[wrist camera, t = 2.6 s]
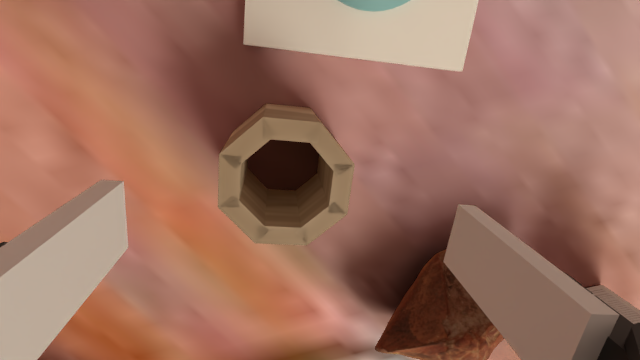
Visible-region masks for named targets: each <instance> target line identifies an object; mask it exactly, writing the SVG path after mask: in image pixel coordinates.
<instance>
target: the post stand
mask: <svg viewBox="0 0 640 360" xmlns="http://www.w3.org/2000/svg"><path fill="white" fill-rule="evenodd" d="M478 1H479V0H245V18H244V41H243V44H244V45H249V46H257V47H265V48H273V49H281V50H289V51H297V52H305V53H313V54H321V55H329V56H337V57H345V58H353V59H361V60H369V61H377V62H385V63H393V64H401V65H409V66H417V67H425V68H433V69H441V70H449V71H462V70H463V66H464V62H465V57H466V53H467V49H468V44H469V40H470V36H471V31H472V27H473V22H474V18H475V14H476V9H477V5H478Z"/></svg>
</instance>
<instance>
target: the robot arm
mask: <svg viewBox="0 0 640 360" xmlns="http://www.w3.org/2000/svg"><path fill="white" fill-rule="evenodd" d="M127 248H128V237H127V222H126V208H125V193H124V181H112V180H100V181H99V182H97V183H96V184H94V185H93V186H91V187H90V188H88V189H87V190H85V191H84V192H82V193H81V194H79V195H78V196H76V197H75V198H73V199H72V200H70V201H69V202H67V203H66V204H64V205H63V206H61V207H60V208H58V209H57V210H55V211H54V212H52V213H51V214H50V215H48V216H47V217H45V218H44V219H42V220H41V221H39V222H38V223H36V224H35V225H33V226H32V227H30V228H29V229H27V230H26V231H24V232H23V233H21V234H20V235H18V236H17V237H15V238H14V239H12V240H11V241H9V242H2V243H0V360H37V359H38V358H39V357H40V356H41V354H42V353H43V352H44V351H45V350H46V348H47V347H48V346H49V345H50V343H51V342H52V341H53V340H54V338H55V337H56V336H57V335H58V334H59V332H60V331H61V330H62V329H63V327H64V326H65V325H66V324H67V322H68V321H69V320H70V319H71V317H72V316H73V315H74V314H75V313H76V311H77V310H78V309H79V308H80V306H81V305H82V304H83V303H84V301H85V300H86V299H87V298H88V297H89V295H90V294H91V293H92V292H93V290H94V289H95V288H96V287H97V285H98V284H99V283H100V282H101V280H102V279H103V278H104V277H105V276H106V274H107V273H108V272H109V271H110V269H111V268H112V267H113V266H114V264H115V263H116V262H117V261H118V260H119V258H120V257H121V256H122V255H123V253H124V252H125V251H126V250H127ZM443 262H444V263H445V264H446V266H447V267H448V268H449V269H450V271H451V272H452V273H453V274H454V276H455V277H456V278H457V279H458V281H459V282H460V283H461V284H462V286H463V287H464V288H465V289H466V291H467V292H468V293H469V294H470V296H471V297H472V298H473V299H474V301H475V302H476V303H477V304H478V306H479V307H480V308H481V309H482V311H483V312H484V313H485V315H486V316H487V317H488V318H489V320H490V321H491V322H492V323H493V325H494V326H495V327H496V328H497V330H498V331H499V332H500V333H501V335H502V336H503V337H504V338H505V340H506V341H507V342H508V343H509V345H510V346H511V347H512V348H513V350H514V351H515V352H516V353H517V355H518V356H519V357H520V358H521V360H640V323H636V324H633V323H632V322H630V321H629V320H628V319H626V318H625V317H624V316H622V315H621V314H620V313H618V312H617V311H616V310H614V309H613V308H612V307H610V306H609V305H608V304H606V303H605V302H604V301H602V300H601V299H600V298H598V297H597V296H594V295H593V293H592V292H590V291H589V290H588V289H586V288H585V287H582V285H581V284H580V283H578V282H577V281H576V280H574V279H573V278H572V277H571V276H569V275H568V274H566V273H564V272H562V271H561V270H560V269H558V268H557V267H556V266H554V265H553V264H552V263H550V262H549V261H548V260H546V259H545V258H544V257H542V256H541V255H540V254H539V253H537V252H536V251H535V250H533V249H532V248H531V247H529V246H528V245H527V244H525V243H524V242H523V241H521V240H520V239H519V238H517V237H516V236H515V235H513V234H512V233H511V232H510V231H508V230H507V229H506V228H504V227H503V226H502V225H500V224H499V223H498V222H496V221H495V220H494V219H492V218H491V217H490V216H488V215H487V214H486V213H484V212H483V211H482V210H480V209H479V208H478V207H477V206H475V205H460V204H458V207H457V211H456V215H455V219H454V223H453V227H452V230H451V234H450V238H449V242H448V246H447V250H446V253H445V257H444V261H443Z"/></svg>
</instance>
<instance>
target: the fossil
mask: <svg viewBox="0 0 640 360" xmlns="http://www.w3.org/2000/svg"><path fill="white" fill-rule="evenodd" d="M446 250H447V249H445V250H443V251H441V252H438V253H436V254H435V255H434V256H433V257H432V258H431V259H430V260H429V261H428V262H427V263H426V265H425V266H424V267H423V268H422V270H421V271H420V273H419V275H418V277H417V278H416V280H415V281H414V283H413V284H412V286H411V287H410V288H409V290H408V291H407V292H406V294H405V295H404V297H403V299H402V301H401V302H400V304H399V306H398V307H397V309H396V310H395V312H394V313H393V315H392V317H391V319H390V321H389V322H388V324H387V327H386V329H385V331H384V332H383V334H382V336H381V338H380V340H379V341H378V343H377V345H376V346H375V350H376V351H378V352H382V353H389V354H401V355H405V356H408V357H412V358H416V359H420V360H487V359H488V358H489V357H490V355H491V353H492V351H493V350H494V348H495V347H496V346H497V345H498V344H499V343H500V342H501V341H502V340H503V339H504V337H503V336H502V335H501V333H500V332H499V331H498V330H497V328H496V327H495V326H494V325H493V323H492V322H491V321H490V320H489V318H488V317H487V316H486V315H485V313H484V312H483V311H482V309H481V308H480V307H479V306H478V304H477V303H476V302H475V301H474V299H473V298H472V297H471V296H470V294H469V293H468V292H467V291H466V289H465V288H464V287H463V286H462V284H461V283H460V282H459V281H458V279H457V278H456V277H455V276H454V274H453V273H452V272H451V271H450V269H449V268H448V267H447V266H446V264H445V263H444V262H443V261H444V257H445V253H446Z"/></svg>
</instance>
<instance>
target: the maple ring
mask: <svg viewBox="0 0 640 360" xmlns="http://www.w3.org/2000/svg"><path fill="white" fill-rule="evenodd" d="M270 139H272V140H284V141H295V142H307V143H311V145H312V146H313V147H314V148H315V149H316V151H317V152H318V153H319V161H318V170H317V174H316V175H314V176H313V177H312V178H311V179H309V180H308V181H307V182H306V183H304V184H303V185H302V186H301V187H299V188H298V189H297V190H296V191H294V190H279V189H267V188H266V187H265V186H264V185H263V184H262V183H261V182H260V181H259V180H258V178H257V177H256V176H255V175H254V174H253V173H252V172H251V171H250V170H249V169H248V158H249V157H250V156H251V155H252V154H254V153H255V152H256V151H257V150H258V149H260V148H261V147H262V146H263V145H264V144H266V143H267V142H268V141H269V140H270ZM353 172H354V163H353V162H352V160H351V159H350V158H349V157H348V155H347V154H346V153H345V151H344V150H343V149H342V147H341V146H340V145H339V143H338V142H337V141H336V139H335V138H334V137H333V136H332V134H331V133H330V132H329V131H328V129H327V128H326V127H325V126H324V124H323V123H322V122H321V121H320V119H319V118H318V117H317V116H316V114H315V113H314V112H313V111H312V109H311V108H307V107H297V106H287V105H277V104H265V105H264V106H263V107H261V108H260V109H259V110H258V111H257V112H255V113H254V114H253V115H252V116H251V117H250V118H248V119H247V120H246V121H245V122H244V123H242V124H241V125H240V126H239V127H238V128H237V129H235V130H234V131H233V132H232V134H231V136H230V137H229V139H228V141H227V142H226V144H225V145H224V147H223V149H222V150H221V152H220V154H219V179H218V208H219V209H220V210H221V211H222V212H223V213H224V214H225V215H226V216H228V217H229V218H230V219H231V220H232V221H233V222H234V223H235V224H236V225H237V226H238V227H239V228H240V229H241V230H242V231H243V232H244V233H245V234H246V235H247V236H248V237H249V238H250V239H251V240H252V241H253V242H254V243H261V244H284V245H308V244H309V243H311V242H312V241H313V240H315V239H316V238H317V237H319V236H320V235H321V234H322V233H324V232H325V231H326V230H328V229H329V228H330V227H331V226H333V225H334V224H335V223H337V222H338V221H339V220H341V219H342V218H343V217H344V216H346V215H347V212H348V205H349V199H350V192H351V185H352V179H353Z"/></svg>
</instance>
